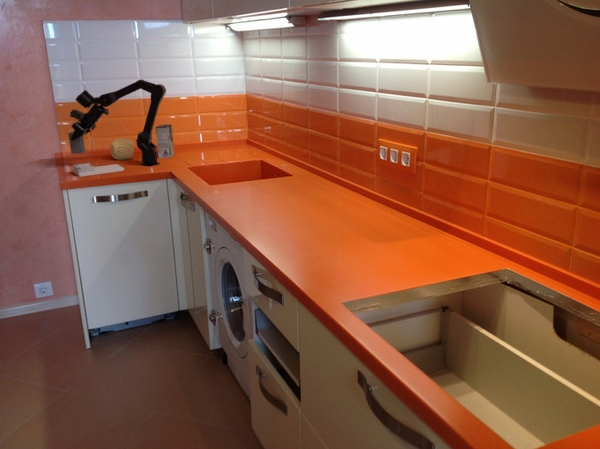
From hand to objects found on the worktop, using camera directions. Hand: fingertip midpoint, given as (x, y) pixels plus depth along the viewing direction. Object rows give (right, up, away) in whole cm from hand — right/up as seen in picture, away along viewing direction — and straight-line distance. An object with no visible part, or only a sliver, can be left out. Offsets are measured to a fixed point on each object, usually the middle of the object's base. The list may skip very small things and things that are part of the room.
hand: (73, 139), depth 262 cm
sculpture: (+17, -7, +21) cm, 28 cm away
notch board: (+15, -16, -7) cm, 23 cm away
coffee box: (+39, -5, +25) cm, 46 cm away
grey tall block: (+1, -6, +2) cm, 7 cm away
